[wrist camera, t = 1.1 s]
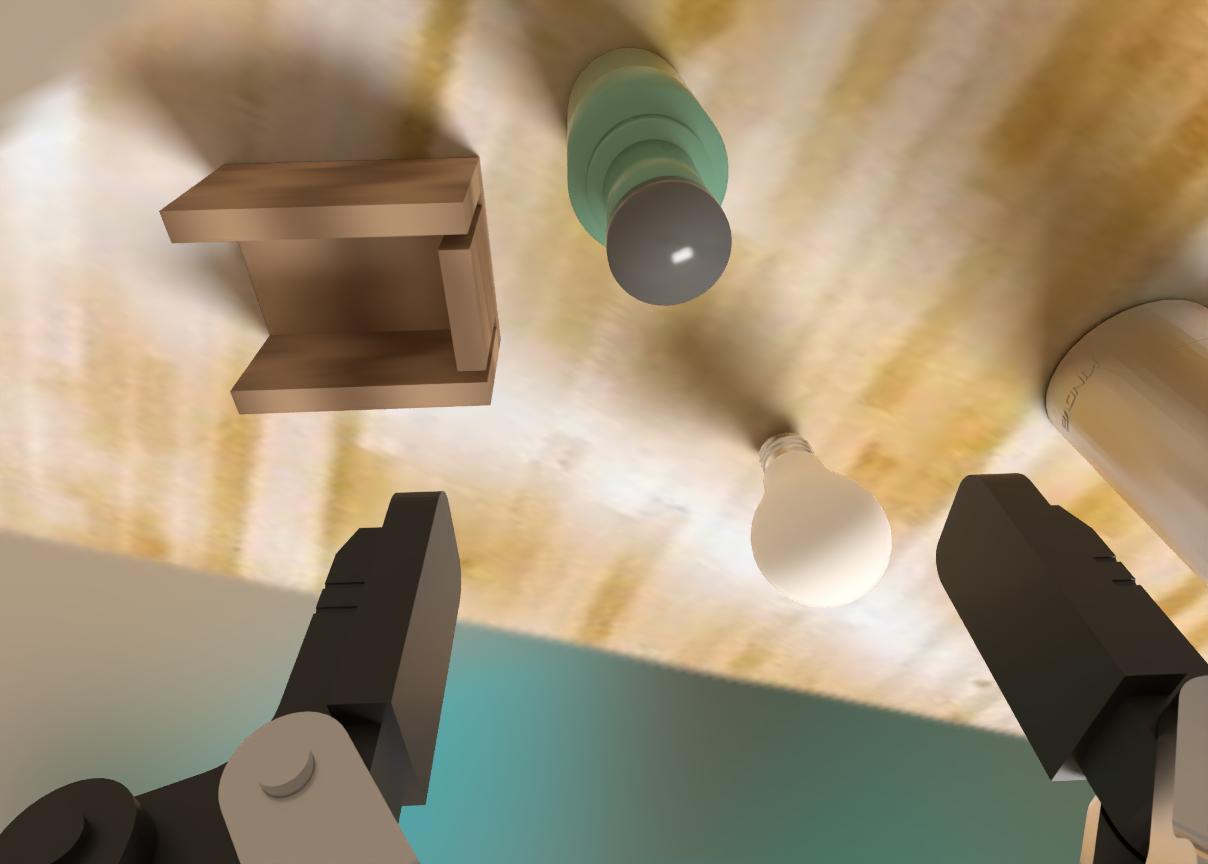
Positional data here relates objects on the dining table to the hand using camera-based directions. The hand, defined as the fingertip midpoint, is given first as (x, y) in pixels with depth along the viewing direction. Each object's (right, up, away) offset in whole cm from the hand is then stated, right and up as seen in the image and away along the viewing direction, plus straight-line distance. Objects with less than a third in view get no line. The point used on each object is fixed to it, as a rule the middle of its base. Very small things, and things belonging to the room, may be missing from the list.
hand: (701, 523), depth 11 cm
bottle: (-1, +15, +19) cm, 24 cm away
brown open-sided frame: (-12, +10, +22) cm, 27 cm away
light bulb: (+9, +1, +30) cm, 31 cm away
